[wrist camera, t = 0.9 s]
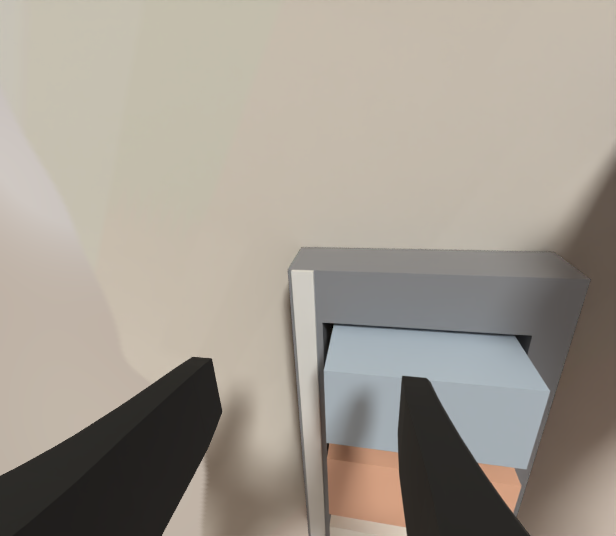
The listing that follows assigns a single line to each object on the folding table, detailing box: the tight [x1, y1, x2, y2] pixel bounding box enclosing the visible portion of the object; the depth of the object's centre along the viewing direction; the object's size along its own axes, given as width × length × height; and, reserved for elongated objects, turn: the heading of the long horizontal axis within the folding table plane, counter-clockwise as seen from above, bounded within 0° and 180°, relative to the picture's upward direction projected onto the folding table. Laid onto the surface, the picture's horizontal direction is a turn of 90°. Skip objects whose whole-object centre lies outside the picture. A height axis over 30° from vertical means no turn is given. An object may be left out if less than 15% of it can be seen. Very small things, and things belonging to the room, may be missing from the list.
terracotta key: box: [327, 443, 521, 527], centre depth 17 cm, size 8×4×4 cm, turn 92°
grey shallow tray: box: [288, 247, 591, 536], centre depth 19 cm, size 12×20×3 cm, turn 2°
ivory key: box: [330, 515, 407, 536], centre depth 19 cm, size 8×4×4 cm, turn 92°
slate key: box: [324, 323, 550, 469], centre depth 15 cm, size 8×4×4 cm, turn 92°
